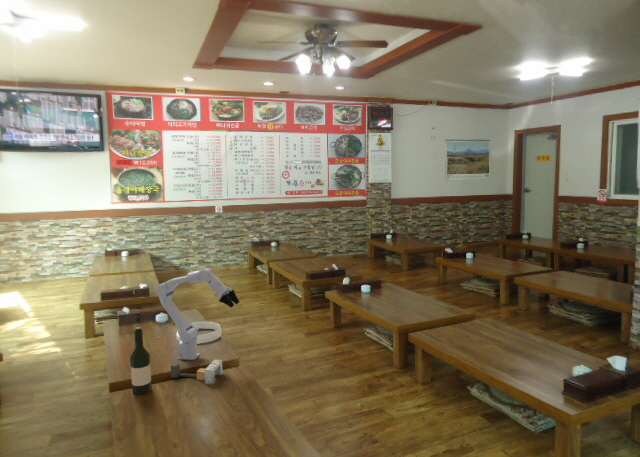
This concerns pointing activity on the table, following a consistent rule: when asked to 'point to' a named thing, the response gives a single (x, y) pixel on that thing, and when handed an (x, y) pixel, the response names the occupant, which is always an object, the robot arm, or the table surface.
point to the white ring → (209, 336)
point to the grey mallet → (176, 373)
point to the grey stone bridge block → (213, 371)
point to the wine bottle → (140, 366)
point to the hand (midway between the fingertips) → (235, 304)
